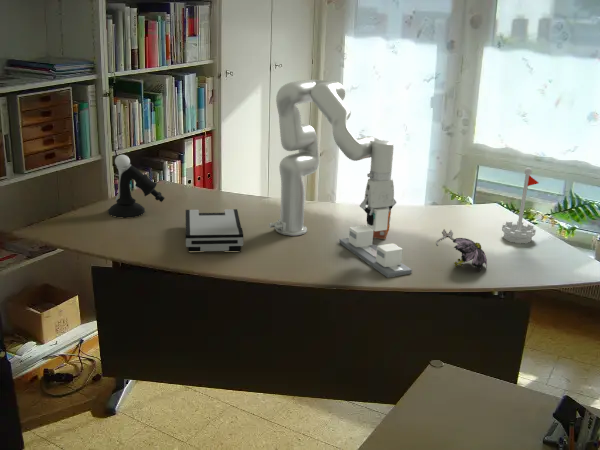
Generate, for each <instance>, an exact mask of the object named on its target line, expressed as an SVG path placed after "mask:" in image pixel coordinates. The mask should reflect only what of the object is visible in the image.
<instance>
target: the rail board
mask: <svg viewBox="0 0 600 450" xmlns="http://www.w3.org/2000/svg"><path fill="white" fill-rule="evenodd" d="M347 238H348V237H347ZM347 238H339V240H338V241H339V244H340V245H342V246H343V247H345V248H346V249H347V250H349V251H350V252H351V253H353V254H354V255H355V256H357V257H358V258H359V259H361V260H363V261H364V262H365V263H367V265H369V266H371V267H372V268H373V269H375V270H376V271H378V272H379V273H381V274H382V275H383V276H385V277H386V279H387V278H393V277H399V276H403V275H404V276H405V275H409V274H412V273H413V270H412V268H410V267H409V266H407V265H406V264H404V263H403V262H401V265H397V266H399V267H400V268H402V269H403V270H402V271H396V272H395V271H393V270H392V269H390V268H389V267H383V266H382V265H381V264H379V263H378V262H376V258H374V257H373V256H372V255H370V254H369V253H367V252H366V251H364V250H363V249H362V248H360V247H355V246H354V245H352V244H351V243H349V239H347ZM377 246H378V245H376V244H374V243H373V242H372V245H370V246H369V247H371V248H372V249H374V250H375V251H377Z"/></svg>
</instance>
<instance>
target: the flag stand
mask: <svg viewBox="0 0 600 450" xmlns="http://www.w3.org/2000/svg"><path fill="white" fill-rule="evenodd" d="M523 171H524V172H523V173H524V174H525V177H524V183H523V187H522V196H521V203H520V209H519V214H518V219H517V221H516V223H513V221H512V220H509V221H506V222H505V223H504V222H503V223H502V226H501V231H502V232H503V239H504V240H506V241H508V242H510V243H514V242H515V243H514V244H521V243H525V244H529V243H528V242H530V241H531V242H532V239H533V237H534V236H535V235H536V231H537V227H534V225H533V224H531V223H527V225H526V224H524V222H523V218H524V212H525V205H526V199H527V194H528V187H529V186H534V185H537V184H539V181H537V180H536V179H535V178H533V177H532V176H531V175H532V173H533V169H532V168H531V167H526V168H524V170H523ZM531 242H530V243H531Z"/></svg>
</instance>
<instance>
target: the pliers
mask: <svg viewBox="0 0 600 450" xmlns="http://www.w3.org/2000/svg"><path fill="white" fill-rule="evenodd" d="M441 233H442V235H443V236H442V237H441V238H439V239H437V240H436V242H435V244H436V246H437V247H439V242H441V241H443V240H445V239H446V238H449V239H450V240H452V241H453V239H455V238H454V237H453V234H454V232H453V230H452V229H450V230H449V232H447V231H446V229H445V228H443V231H442V232H441ZM444 238H445V239H444ZM442 239H443V240H442ZM440 240H441V241H440ZM458 244H460V243H456V245H458Z"/></svg>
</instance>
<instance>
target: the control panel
mask: <svg viewBox="0 0 600 450" xmlns="http://www.w3.org/2000/svg"><path fill="white" fill-rule="evenodd" d="M391 214H392V209H391V210H390V212H389V213H388V224H387V230H382V231H374V230H373V239H381V240H387V236H388V232H389V231H390V226H391V225H390V224H391Z"/></svg>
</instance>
